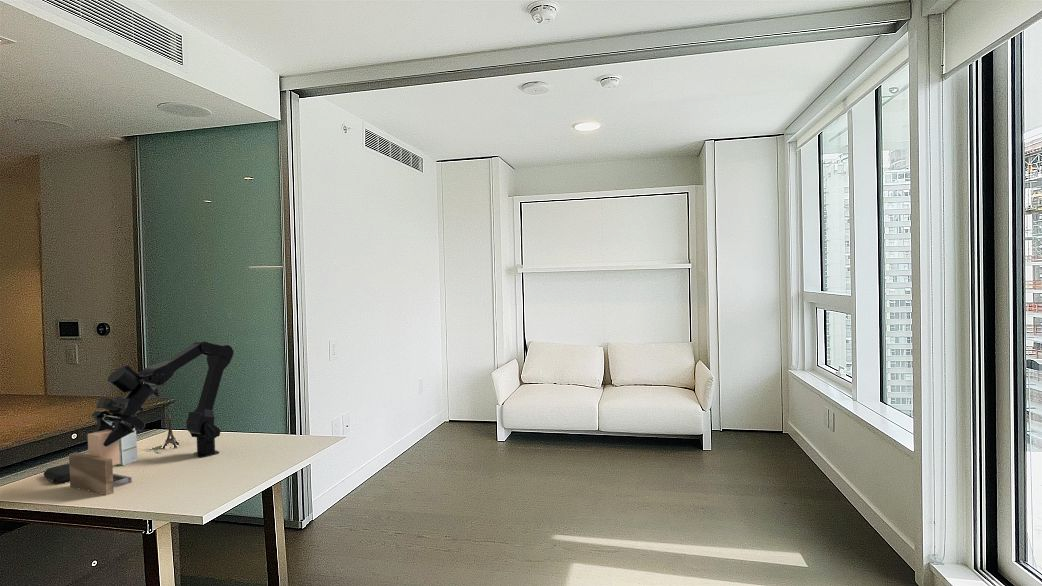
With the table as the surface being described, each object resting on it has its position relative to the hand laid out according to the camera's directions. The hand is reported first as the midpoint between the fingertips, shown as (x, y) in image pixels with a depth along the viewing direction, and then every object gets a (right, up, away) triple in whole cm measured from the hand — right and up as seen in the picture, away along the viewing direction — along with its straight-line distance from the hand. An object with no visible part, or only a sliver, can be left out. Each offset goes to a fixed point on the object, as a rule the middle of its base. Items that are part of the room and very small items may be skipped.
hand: (98, 444), depth 178 cm
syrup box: (-9, -13, +24) cm, 29 cm away
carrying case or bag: (-18, -14, +11) cm, 25 cm away
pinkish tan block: (+1, -7, +1) cm, 7 cm away
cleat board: (+1, -13, +2) cm, 13 cm away
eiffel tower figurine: (-4, -13, +43) cm, 45 cm away
